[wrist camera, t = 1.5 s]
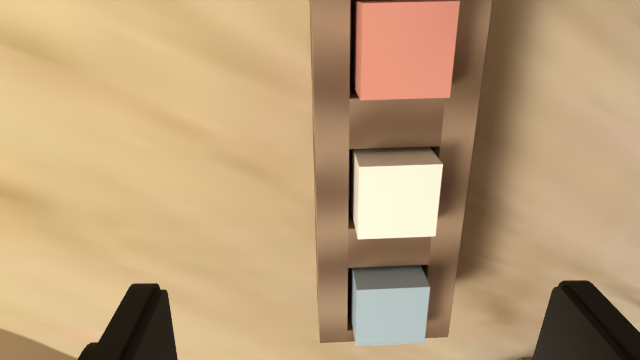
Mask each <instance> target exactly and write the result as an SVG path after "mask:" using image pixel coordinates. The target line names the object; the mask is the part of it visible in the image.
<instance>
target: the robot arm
mask: <svg viewBox="0 0 640 360" xmlns="http://www.w3.org/2000/svg"><path fill="white" fill-rule="evenodd" d="M78 360H178V359H177V353H176V346H175V339H174V332H173V325H172V319H171V312H170V305H169V298H168V293H167V290H160V287H159V285H158V284H157V283H156V284H132V285H131V286H130V287H129V289H128V291H127V292H126V294H125V296H124V298H123V300H122V301H121V303H120V305H119V307H118V308H117V310H116V312H115V314H114V316H113V317H112V319H111V321H110V323H109V324H108V326H107V328H106V330H105V332H104V333H103V335H102V337H101V339H100V340H99V342H97V343H90V344H88V345H87V346H86V347H85V349H84V350H83V351H82V353H81V355H80V356H79V358H78ZM532 360H640V332H639V331H638V330H637V329H636V328H635V327H634V326H633V325H632V324H631V323H630V322H629V321H628V320H627V319H626V318H625V317H624V316H623V315H622V314H621V313H620V312H619V311H618V310H617V309H616V308H615V307H614V306H613V305H612V304H611V302H610V301H609V300H608V299H607V298H606V297H605V296H604V295H603V294H602V293H601V292H600V291H599V290H598V289H597V288H596V287H595V286H594V285H593V284H592V283H591V282H589V281H586V280H584V281H562V282H561V283H560V284H559V286H558V287H555V288H554V289H553V290H552V293H551V296H550V300H549V303H548V307H547V310H546V314H545V317H544V321H543V324H542V328H541V331H540V335H539V338H538V342H537V345H536V349H535V352H534V355H533V359H532Z"/></svg>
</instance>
